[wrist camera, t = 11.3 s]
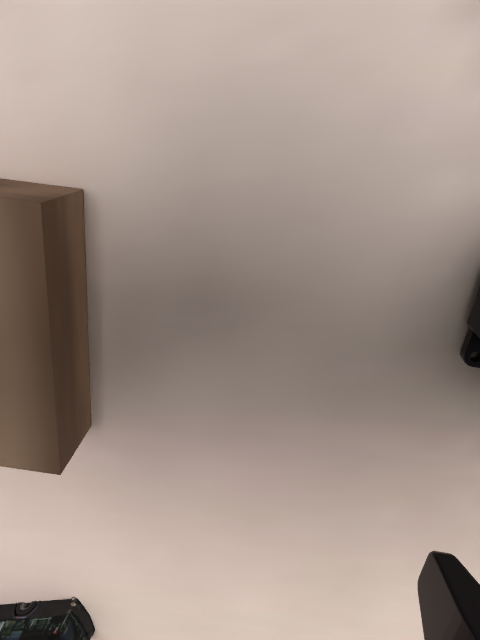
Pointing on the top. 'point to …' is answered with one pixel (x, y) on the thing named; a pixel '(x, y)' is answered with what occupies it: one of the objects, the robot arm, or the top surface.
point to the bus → (46, 621)
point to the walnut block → (42, 326)
